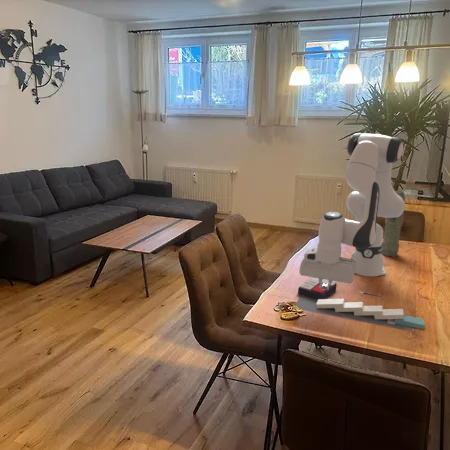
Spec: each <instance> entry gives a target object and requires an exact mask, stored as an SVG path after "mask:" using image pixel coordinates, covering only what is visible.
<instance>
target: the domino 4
mask: <svg viewBox="0 0 450 450" xmlns="http://www.w3.org/2000/svg"><path fill="white" fill-rule="evenodd" d="M404 315H405V313H404V308H388V309H384V308H383V315H374V317H375V319H404Z"/></svg>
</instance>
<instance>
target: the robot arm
mask: <svg viewBox="0 0 450 450" xmlns="http://www.w3.org/2000/svg"><path fill="white" fill-rule="evenodd" d="M346 148H347V149H346V150H347V154H348V155H349V159H348V162H347V167H346V169H345V172H344V180H345V182H346V183H347V185H348V187H349V188H351V189H352V190H353V191H352V192H350V193H349V194H348V195H347V198H346V201H345V202H346V207H347V209H348V211H349V212H350V213H351V214H352V215H353V216H354V218H355V220H353V219H349V218H345V217H344V215H343V214H342V213H340V212H337V211H329V212H326V213H323V214H322V217H321V219H320V224H319V228H318V243H317V246H316V247H315V248H307V249H306V251H304V253H303V254H304V255H303V256H304V257H303V258H302V260H301V263H300V266H299V270H298V271H299V274H300V276H304V277H309V278H313V277H314V278H319V283H320V285H321V289H323V290H329V286H330V285H331V284H332V282H339V283H346V284H352V283H354V278H355V275H360V276H362V277H378V276H386V275H387V271H386V270H385V268H384V262H385V260H384V259H385V258H384V255H382V254H381V253H382V242H383V239H384V228H383V227H382V226H381V224H379V223H377V221H378V220H377V218H385V219H386V218H396V217H399V216H400V215H401V214H402V213H404V212H405V208H406V205H405V204H406V203H404V200H403V199H402V198H401V197H400V196H399V195H398V194H397V193H396V192H395V191H396V190H395V189H394V187H393V185H392V171H393V170H392V169H393V163H396V162H398V161H399V160H400V159H401V157H402V155H403V153H404V142H403V141H402V139H401V138H399V137H396V136H389V135H386V134H380V133H362V132H357V133H354V134H352V135H351V136H350V137H349V139H348V142H347V147H346ZM342 244H343V245H346V246H350V247H353V248H355V250H354V251H352V253H350V258H347V257H343V256H341V254H342ZM323 279H324V280H327V281H328V282H329V283H328V285H327V284H323V282H322V280H323Z"/></svg>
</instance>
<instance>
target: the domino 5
mask: <svg viewBox="0 0 450 450" xmlns="http://www.w3.org/2000/svg"><path fill="white" fill-rule="evenodd" d="M394 323H397V324H401V325H406V326H411V327H412V328H416V329H420V330H421V329H422V330H425V327H426V325H425V319H424V318H421V317H416V316H412V315H411V316H410V315H405V314H404V319H394Z"/></svg>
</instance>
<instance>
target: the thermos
mask: <svg viewBox="0 0 450 450" xmlns="http://www.w3.org/2000/svg"><path fill="white" fill-rule="evenodd" d="M394 191H395V192H396V193H397V194H398V195H399V196H400V197H401V198H402V199H403V200H404V203H405V202H406V194H405V192H404V191H400V190H394ZM405 204H406V203H405ZM404 216H405V213H404V212H403V213H402V214H401V215H400V216H399V217H396V218H385V221H384V222H385V226H384V232H383V239H382V253H381V255H382V254H383V255H382V256H384V255H385V257H389V256H391V257H390V258H394V257H393V256H396V257H398V254H399V249H400V244H399V243H400V242H399V241H400V236H401V231H402V230H401V229H402V226H403V222H404Z"/></svg>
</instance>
